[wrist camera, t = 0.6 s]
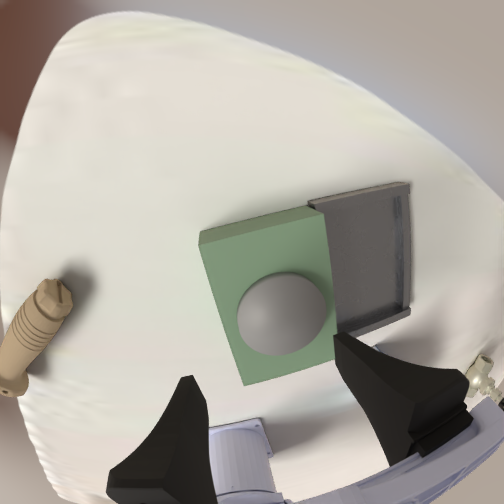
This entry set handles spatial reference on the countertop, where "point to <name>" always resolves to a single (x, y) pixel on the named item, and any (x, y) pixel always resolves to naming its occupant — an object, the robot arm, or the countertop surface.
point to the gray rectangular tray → (369, 255)
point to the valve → (483, 380)
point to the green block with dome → (273, 291)
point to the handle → (31, 334)
